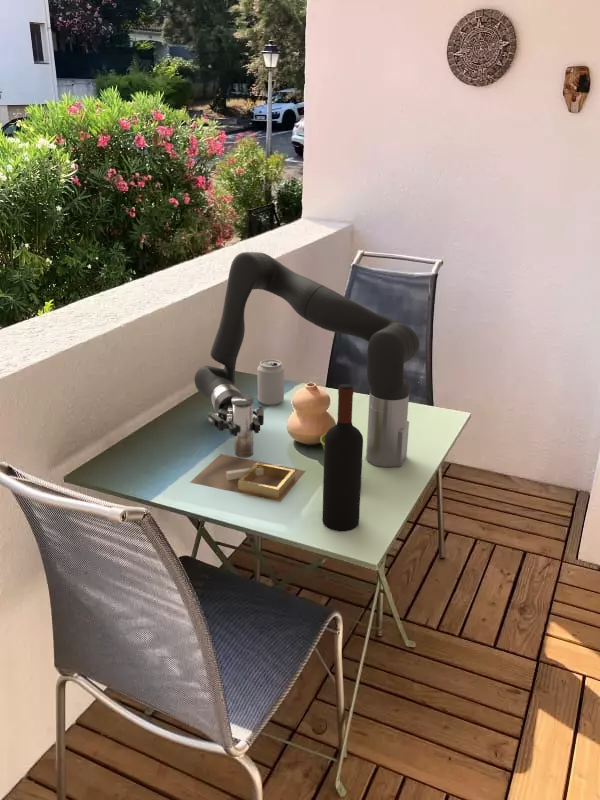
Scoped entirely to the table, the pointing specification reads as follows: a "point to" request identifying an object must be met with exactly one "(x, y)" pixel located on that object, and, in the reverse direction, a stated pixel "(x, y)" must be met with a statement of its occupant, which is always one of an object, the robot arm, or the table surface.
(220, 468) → the board
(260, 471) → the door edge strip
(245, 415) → the silver cylindrical piece
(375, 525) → the table surface
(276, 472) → the keeper
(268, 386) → the can
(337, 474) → the wine bottle
